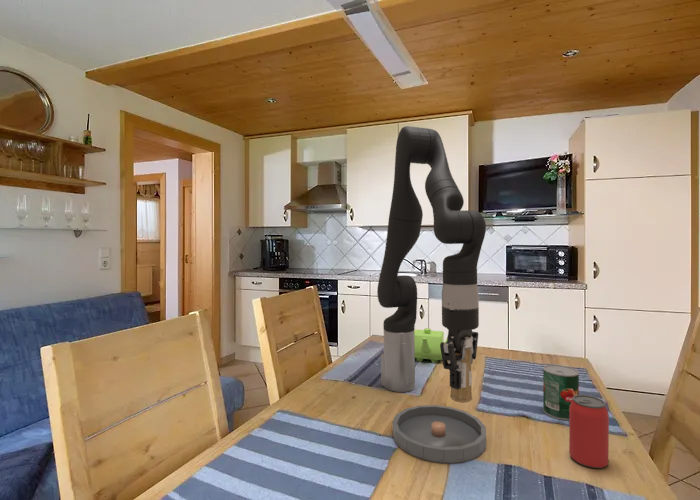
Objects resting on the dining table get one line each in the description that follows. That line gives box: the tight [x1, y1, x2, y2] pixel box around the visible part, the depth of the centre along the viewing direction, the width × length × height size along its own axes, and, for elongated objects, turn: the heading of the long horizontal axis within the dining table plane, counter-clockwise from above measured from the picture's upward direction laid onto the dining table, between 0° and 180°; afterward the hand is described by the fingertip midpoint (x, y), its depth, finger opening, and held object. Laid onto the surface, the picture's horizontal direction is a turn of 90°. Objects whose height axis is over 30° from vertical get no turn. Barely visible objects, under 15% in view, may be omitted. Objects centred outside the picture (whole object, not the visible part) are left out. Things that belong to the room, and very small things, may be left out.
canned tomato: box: [542, 364, 580, 421], centre depth 96 cm, size 8×8×11 cm
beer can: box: [568, 394, 610, 469], centre depth 76 cm, size 7×7×12 cm
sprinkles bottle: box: [449, 337, 473, 404], centre depth 81 cm, size 5×5×13 cm
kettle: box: [414, 328, 447, 364], centre depth 140 cm, size 15×14×11 cm
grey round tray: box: [392, 404, 487, 464], centre depth 85 cm, size 20×20×3 cm
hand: (460, 384), depth 81 cm, fingers closed on sprinkles bottle, 4 cm apart
